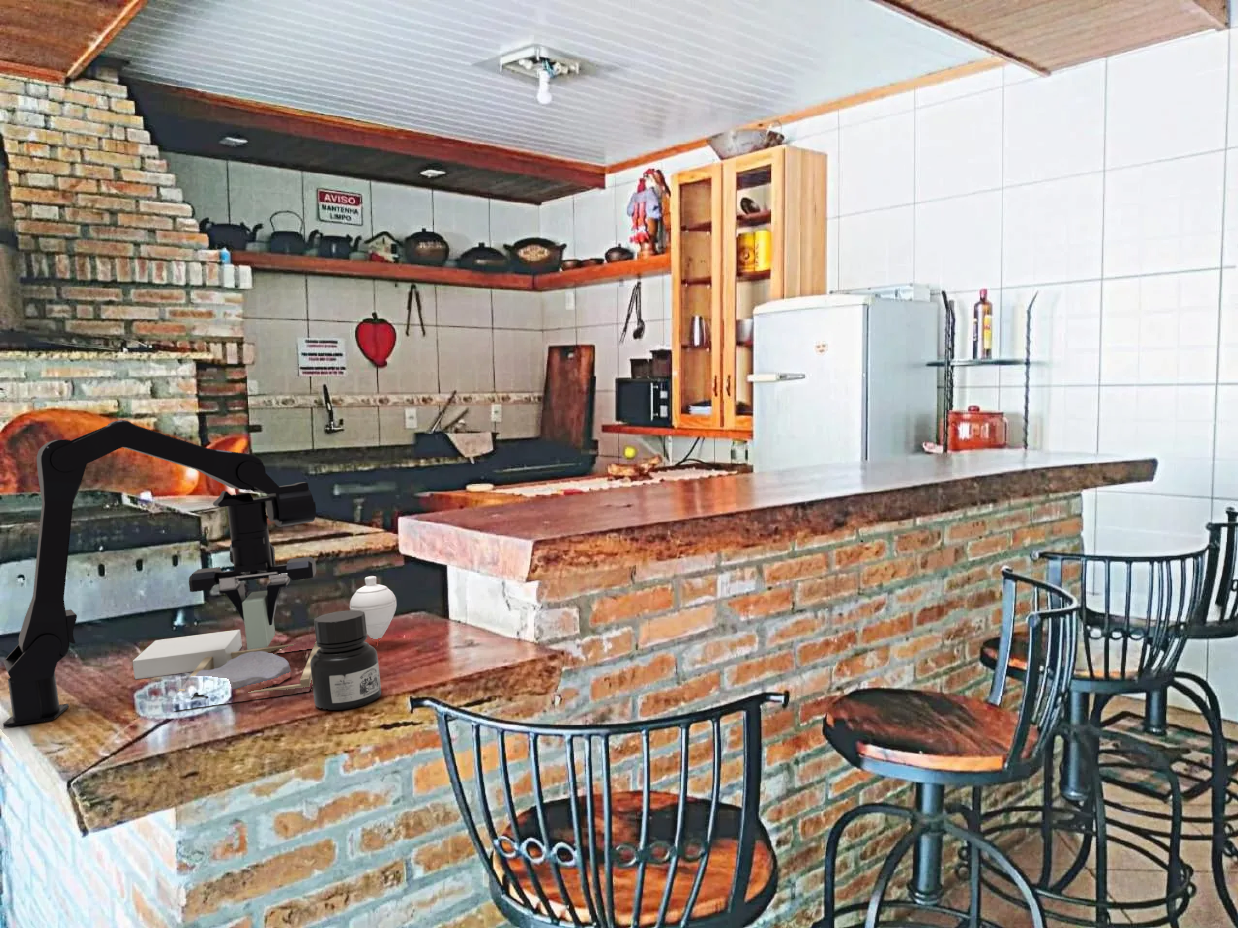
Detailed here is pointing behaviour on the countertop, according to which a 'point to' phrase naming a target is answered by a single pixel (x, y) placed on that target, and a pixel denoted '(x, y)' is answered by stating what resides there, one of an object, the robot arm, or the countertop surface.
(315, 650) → the rack
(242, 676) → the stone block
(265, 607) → the rectangular block
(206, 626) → the countertop surface
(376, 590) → the spinning top
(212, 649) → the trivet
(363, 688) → the ink bottle
